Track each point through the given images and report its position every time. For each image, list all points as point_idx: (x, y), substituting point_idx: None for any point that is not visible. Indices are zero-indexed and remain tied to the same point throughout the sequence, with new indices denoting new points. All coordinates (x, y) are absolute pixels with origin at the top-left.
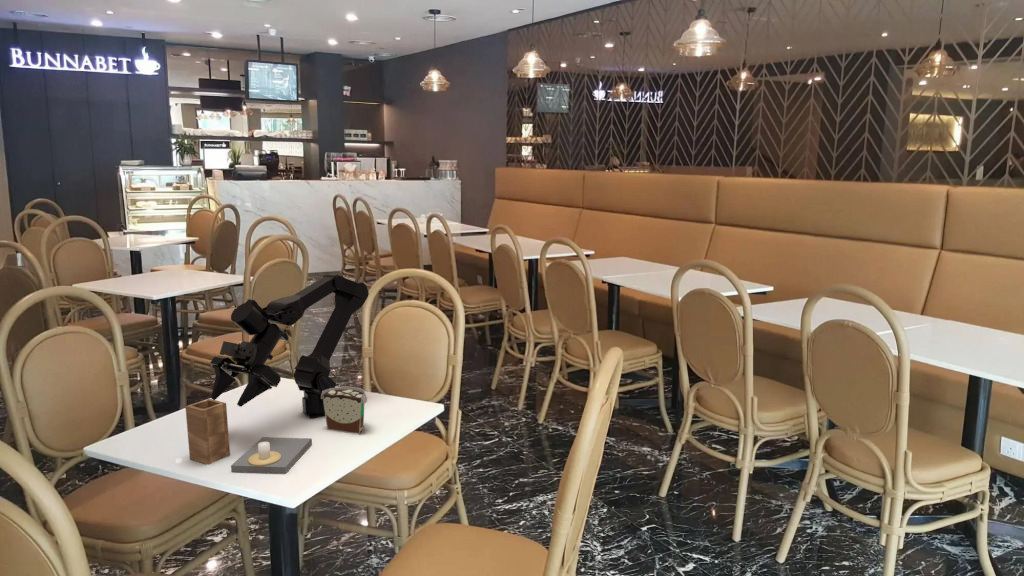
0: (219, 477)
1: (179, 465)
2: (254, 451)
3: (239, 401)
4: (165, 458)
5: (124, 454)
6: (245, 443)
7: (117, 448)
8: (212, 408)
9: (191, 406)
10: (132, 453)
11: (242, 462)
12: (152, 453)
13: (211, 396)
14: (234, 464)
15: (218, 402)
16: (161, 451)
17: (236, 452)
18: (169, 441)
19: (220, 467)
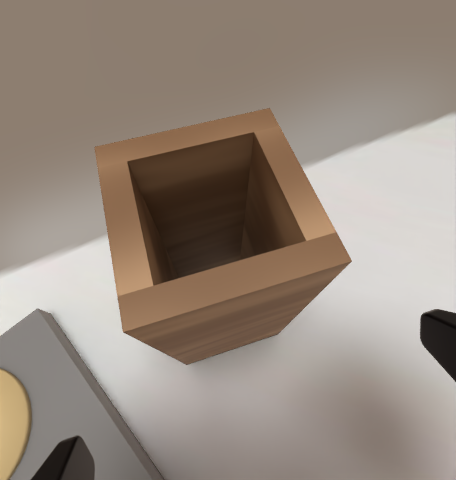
0: (49, 273)
1: None
2: None
3: (46, 469)
4: None
5: (390, 146)
6: (265, 471)
7: (444, 144)
8: (106, 212)
9: (238, 127)
10: (387, 160)
11: (22, 350)
12: (358, 192)
13: (439, 312)
14: (33, 320)
15: (189, 284)
16: (361, 212)
17: (196, 396)
18: (439, 250)
19: (114, 300)
